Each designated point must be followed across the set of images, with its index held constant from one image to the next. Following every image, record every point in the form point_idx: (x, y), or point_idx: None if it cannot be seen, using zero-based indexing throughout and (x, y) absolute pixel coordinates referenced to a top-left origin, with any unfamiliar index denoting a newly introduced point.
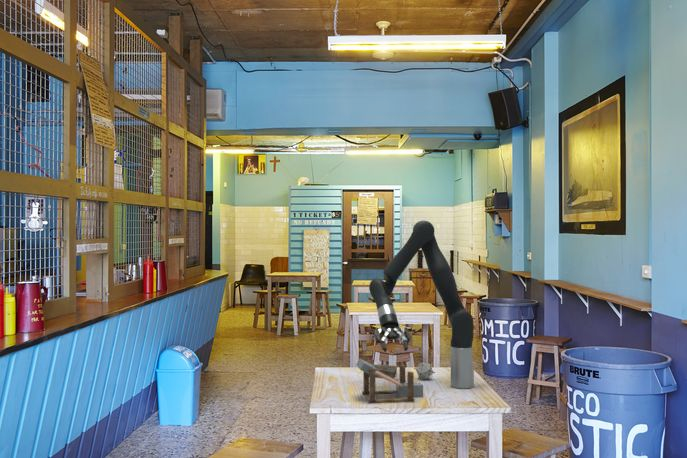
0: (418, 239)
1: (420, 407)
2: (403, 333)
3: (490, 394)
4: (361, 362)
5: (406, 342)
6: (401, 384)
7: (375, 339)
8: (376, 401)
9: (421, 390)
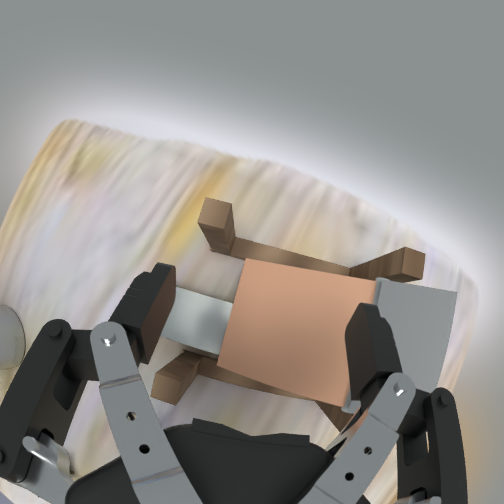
0: None
1: (234, 169)
2: (65, 450)
3: (2, 227)
4: (446, 343)
5: (121, 313)
6: (214, 323)
7: (421, 454)
8: (345, 268)
9: None
